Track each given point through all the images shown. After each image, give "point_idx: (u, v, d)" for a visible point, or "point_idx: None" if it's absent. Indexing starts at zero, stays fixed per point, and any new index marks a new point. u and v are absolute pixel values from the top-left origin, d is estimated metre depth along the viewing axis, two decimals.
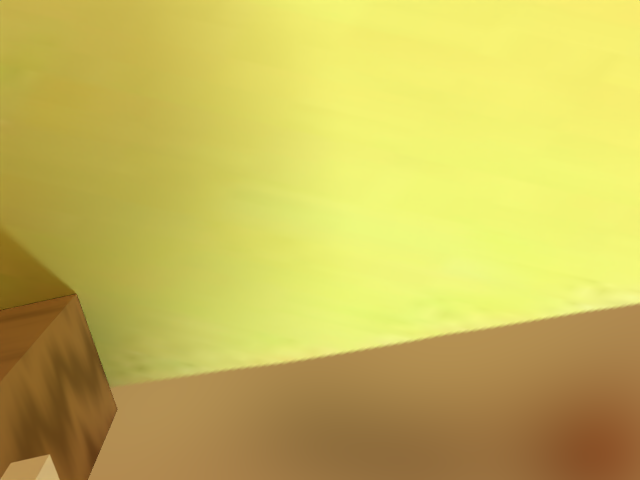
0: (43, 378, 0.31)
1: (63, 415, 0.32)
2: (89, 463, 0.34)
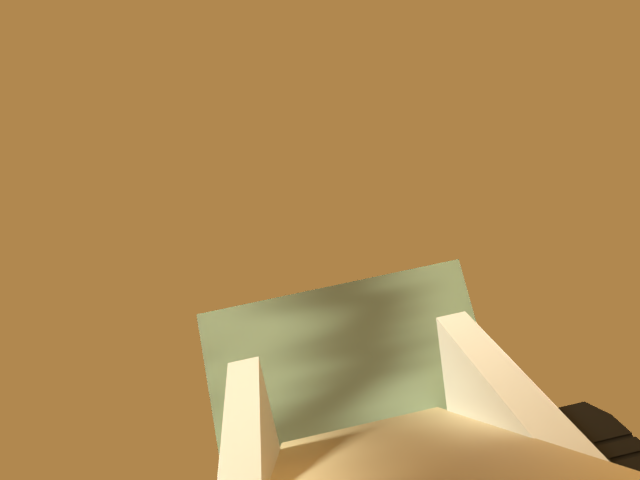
0: None
1: None
2: None
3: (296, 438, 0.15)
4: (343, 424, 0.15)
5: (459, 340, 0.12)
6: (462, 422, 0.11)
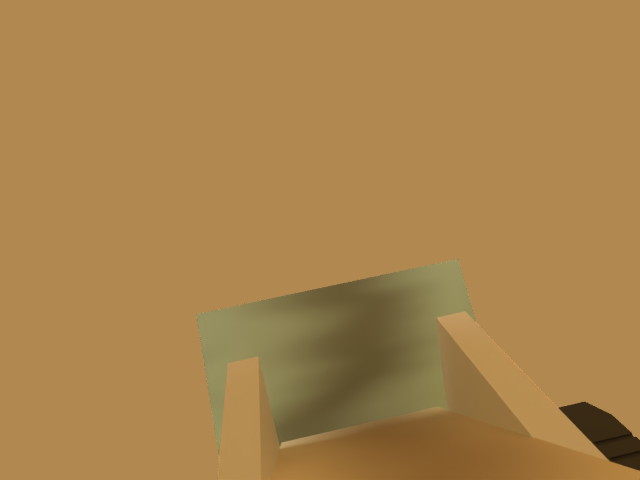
0: None
1: None
2: None
3: (296, 438, 0.15)
4: (342, 423, 0.15)
5: (459, 341, 0.12)
6: (462, 422, 0.11)
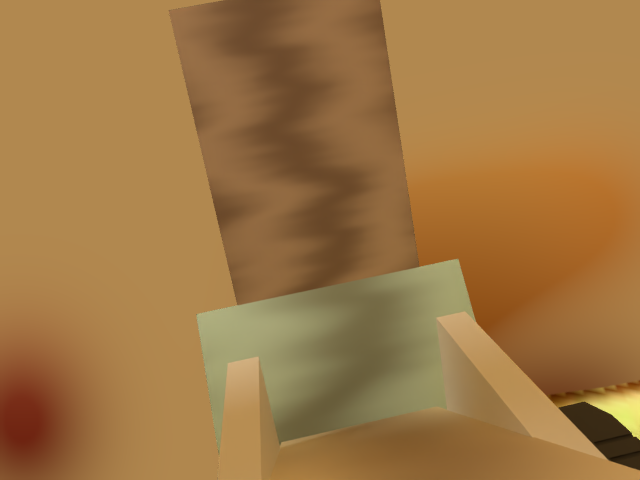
0: None
1: None
2: None
3: (296, 438, 0.15)
4: (342, 423, 0.15)
5: (459, 341, 0.12)
6: (461, 421, 0.11)
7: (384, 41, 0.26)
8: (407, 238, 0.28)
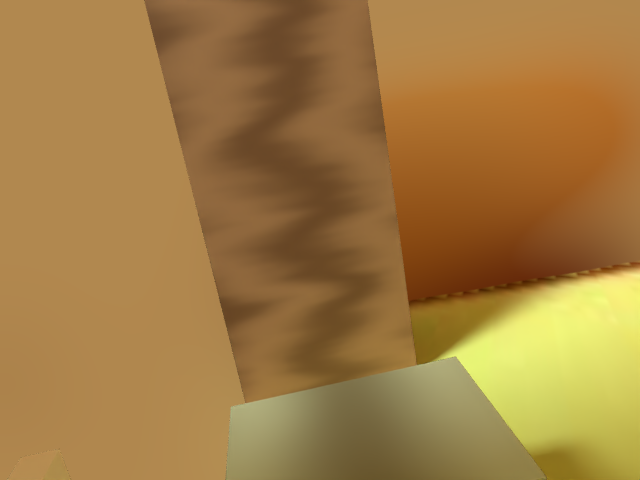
0: (360, 246, 0.28)
1: (306, 266, 0.28)
2: (229, 298, 0.28)
3: None
4: None
5: None
6: None
7: None
8: (368, 71, 0.25)
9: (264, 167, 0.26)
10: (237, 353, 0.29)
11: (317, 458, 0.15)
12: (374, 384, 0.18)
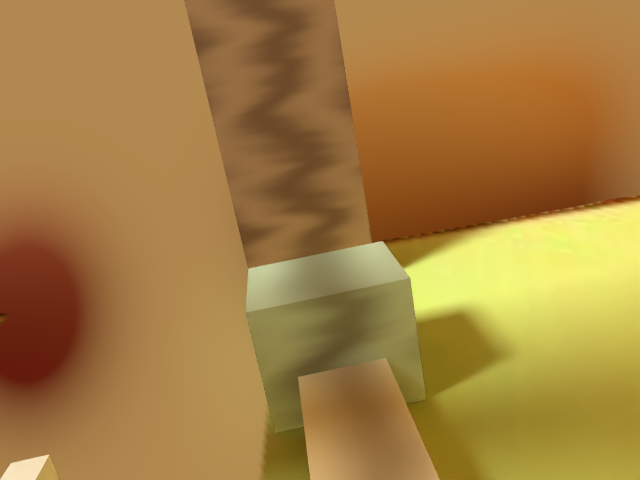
0: (335, 188, 0.40)
1: (298, 202, 0.40)
2: (244, 224, 0.40)
3: (306, 374, 0.26)
4: (332, 367, 0.26)
5: None
6: (397, 400, 0.23)
7: None
8: (338, 67, 0.37)
9: (268, 133, 0.38)
10: (250, 264, 0.41)
11: (296, 281, 0.27)
12: (332, 254, 0.30)
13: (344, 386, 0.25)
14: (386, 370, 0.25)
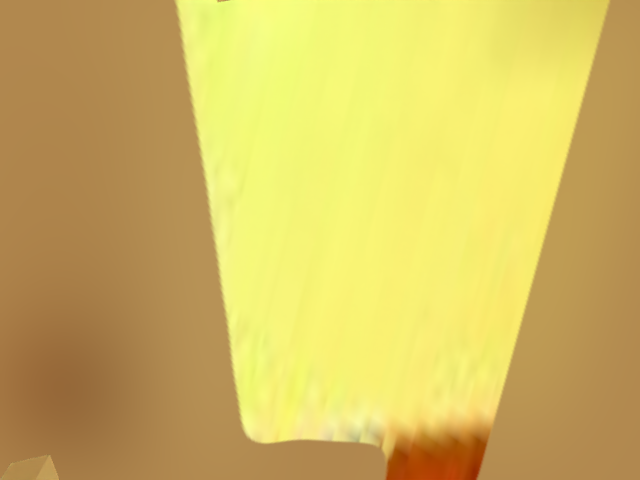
0: None
1: None
2: None
3: None
4: None
5: None
6: None
7: None
8: None
9: None
10: None
11: None
12: None
13: None
14: None
